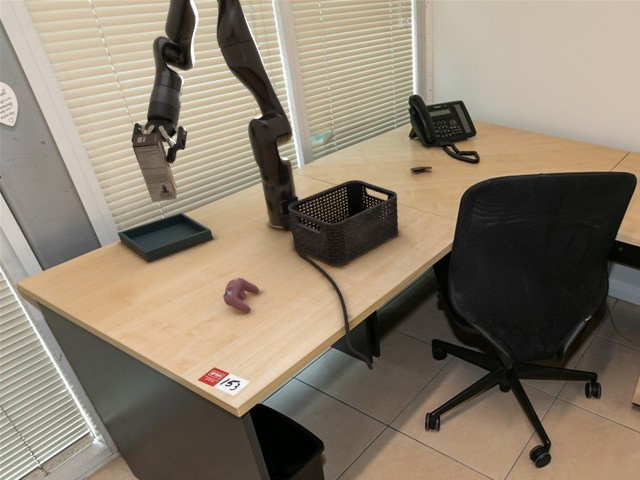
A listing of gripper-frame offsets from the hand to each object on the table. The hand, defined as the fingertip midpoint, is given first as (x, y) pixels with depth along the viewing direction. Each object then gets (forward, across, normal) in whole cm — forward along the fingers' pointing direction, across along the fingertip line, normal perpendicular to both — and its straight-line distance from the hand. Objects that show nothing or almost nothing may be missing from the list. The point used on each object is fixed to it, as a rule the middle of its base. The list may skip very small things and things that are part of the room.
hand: (155, 161), depth 144 cm
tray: (+20, +1, +10) cm, 22 cm away
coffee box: (+8, +1, +5) cm, 9 cm away
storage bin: (+15, +52, +16) cm, 57 cm away
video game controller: (+39, +35, -10) cm, 53 cm away
